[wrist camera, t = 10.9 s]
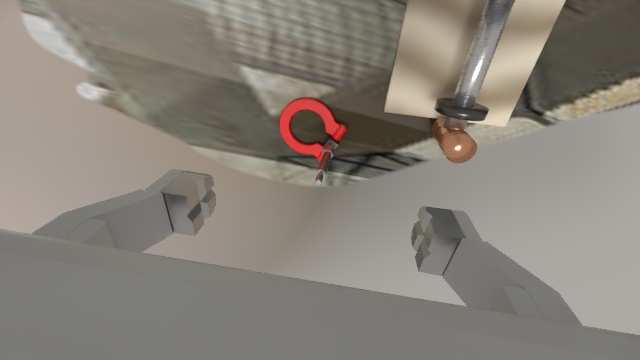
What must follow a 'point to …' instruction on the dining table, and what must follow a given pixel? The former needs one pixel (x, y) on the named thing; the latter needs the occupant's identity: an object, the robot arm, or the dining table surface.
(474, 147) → the flanged metal rod
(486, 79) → the base board
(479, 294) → the robot arm
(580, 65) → the dining table surface
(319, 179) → the tow hook
